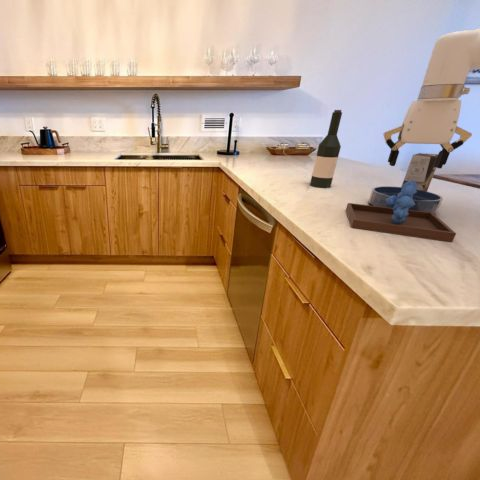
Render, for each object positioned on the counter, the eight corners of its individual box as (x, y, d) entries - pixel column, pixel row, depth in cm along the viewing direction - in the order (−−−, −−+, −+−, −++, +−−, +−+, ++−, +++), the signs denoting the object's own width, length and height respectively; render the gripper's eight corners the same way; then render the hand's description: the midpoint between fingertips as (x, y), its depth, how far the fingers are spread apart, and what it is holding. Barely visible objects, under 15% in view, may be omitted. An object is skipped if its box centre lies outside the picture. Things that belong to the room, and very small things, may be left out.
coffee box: (418, 204, 100) (436, 156, 93) (395, 200, 105) (412, 154, 98) (424, 199, 105) (442, 154, 98) (403, 195, 110) (419, 152, 103)
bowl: (426, 203, 100) (431, 189, 98) (445, 220, 86) (452, 204, 83) (364, 197, 108) (368, 184, 106) (372, 211, 93) (377, 196, 91)
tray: (429, 220, 86) (432, 212, 85) (452, 242, 71) (456, 233, 70) (345, 209, 94) (347, 202, 93) (351, 227, 80) (353, 219, 79)
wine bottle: (306, 185, 124) (322, 109, 112) (313, 182, 130) (330, 109, 117) (327, 189, 119) (346, 110, 106) (333, 185, 124) (353, 110, 112)
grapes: (380, 214, 88) (393, 175, 84) (408, 219, 85) (424, 178, 80) (376, 224, 80) (390, 182, 75) (406, 230, 76) (424, 186, 71)
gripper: (480, 93, 68) (451, 166, 75) (391, 96, 75) (372, 162, 83) (496, 92, 62) (463, 171, 69) (398, 95, 69) (377, 166, 76)
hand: (414, 166), depth 76 cm, fingers open, 9 cm apart
